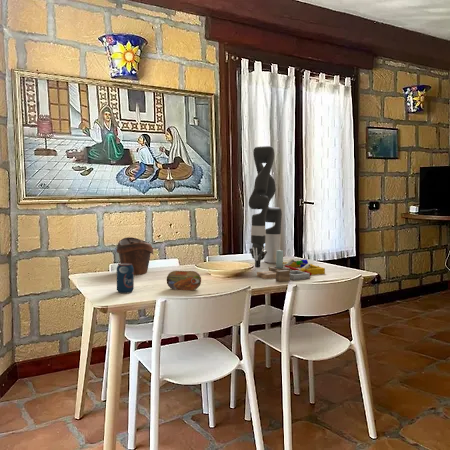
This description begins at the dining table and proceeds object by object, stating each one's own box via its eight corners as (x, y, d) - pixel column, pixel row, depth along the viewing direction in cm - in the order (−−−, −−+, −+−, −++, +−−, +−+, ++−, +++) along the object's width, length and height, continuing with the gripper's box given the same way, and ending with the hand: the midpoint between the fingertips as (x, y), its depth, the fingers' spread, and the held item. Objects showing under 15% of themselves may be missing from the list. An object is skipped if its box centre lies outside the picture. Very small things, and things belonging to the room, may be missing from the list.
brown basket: (143, 276, 225) (143, 240, 224) (108, 274, 231) (108, 239, 230) (160, 271, 241) (160, 237, 240) (127, 269, 248) (127, 236, 247)
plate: (256, 277, 231) (257, 272, 231) (269, 275, 235) (269, 270, 235) (266, 279, 224) (266, 274, 224) (279, 278, 228) (279, 273, 228)
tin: (166, 289, 198) (166, 270, 197) (168, 288, 201) (168, 269, 200) (200, 291, 195) (200, 271, 195) (201, 289, 198) (201, 270, 198)
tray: (281, 276, 230) (281, 271, 230) (296, 275, 235) (296, 270, 235) (293, 280, 221) (293, 275, 221) (309, 278, 226) (309, 273, 226)
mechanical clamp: (307, 265, 230) (277, 257, 258) (306, 277, 231) (277, 268, 258) (337, 263, 237) (305, 255, 265) (336, 275, 238) (305, 266, 265)
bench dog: (275, 280, 219) (276, 270, 218) (285, 279, 222) (285, 269, 222) (279, 282, 216) (279, 271, 216) (289, 280, 219) (289, 270, 219)
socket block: (268, 272, 241) (268, 267, 240) (280, 271, 245) (280, 266, 244) (277, 275, 234) (278, 269, 234) (290, 273, 238) (290, 268, 238)
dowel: (274, 273, 240) (275, 250, 239) (280, 272, 242) (280, 250, 241) (278, 274, 237) (279, 251, 236) (284, 273, 239) (284, 250, 238)
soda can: (127, 294, 187) (127, 265, 186) (113, 292, 190) (113, 264, 189) (136, 291, 194) (136, 263, 193) (123, 289, 196) (122, 262, 195)
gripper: (245, 233, 239) (244, 266, 240) (259, 235, 228) (259, 269, 229) (257, 233, 243) (256, 265, 244) (271, 235, 232) (271, 268, 233)
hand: (257, 267), depth 237 cm, fingers closed
